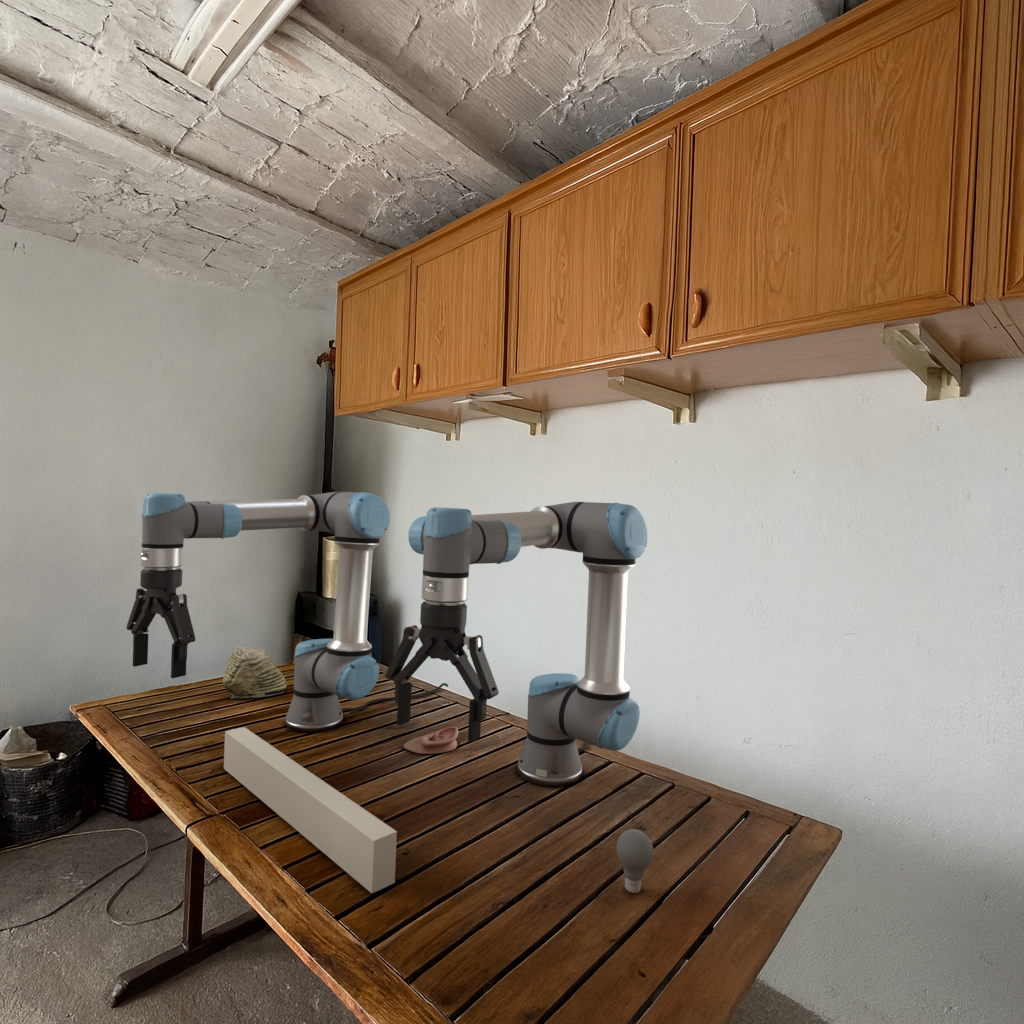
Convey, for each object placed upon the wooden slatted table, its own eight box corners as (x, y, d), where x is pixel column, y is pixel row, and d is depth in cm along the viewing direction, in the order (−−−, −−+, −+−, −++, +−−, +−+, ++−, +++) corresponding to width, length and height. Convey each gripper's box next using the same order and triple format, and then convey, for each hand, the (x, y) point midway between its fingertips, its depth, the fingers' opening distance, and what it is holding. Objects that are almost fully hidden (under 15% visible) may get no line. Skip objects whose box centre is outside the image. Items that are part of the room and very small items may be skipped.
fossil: (218, 695, 195) (220, 647, 195) (278, 685, 208) (279, 640, 207) (228, 703, 189) (230, 653, 188) (289, 692, 201) (290, 645, 201)
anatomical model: (398, 735, 159) (414, 720, 170) (398, 751, 159) (414, 734, 170) (449, 741, 156) (462, 725, 167) (448, 757, 156) (461, 740, 168)
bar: (223, 768, 145) (224, 731, 145) (243, 763, 148) (244, 726, 148) (371, 894, 102) (374, 840, 102) (394, 882, 105) (397, 831, 105)
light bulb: (610, 879, 108) (613, 822, 108) (644, 879, 109) (647, 822, 109) (619, 902, 102) (622, 840, 102) (655, 901, 103) (658, 840, 103)
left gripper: (109, 563, 133) (106, 664, 134) (180, 575, 121) (177, 686, 121) (145, 561, 140) (142, 657, 140) (216, 572, 127) (213, 677, 127)
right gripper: (368, 596, 106) (362, 722, 106) (502, 614, 95) (494, 755, 95) (395, 591, 112) (389, 710, 112) (523, 607, 101) (516, 739, 102)
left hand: (158, 670), depth 131 cm, fingers open, 13 cm apart
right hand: (437, 731), depth 104 cm, fingers open, 13 cm apart
